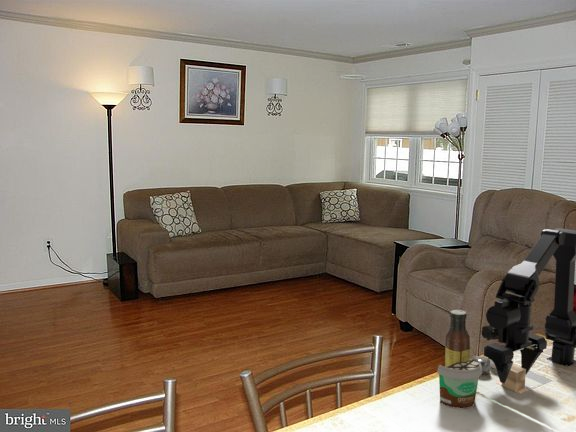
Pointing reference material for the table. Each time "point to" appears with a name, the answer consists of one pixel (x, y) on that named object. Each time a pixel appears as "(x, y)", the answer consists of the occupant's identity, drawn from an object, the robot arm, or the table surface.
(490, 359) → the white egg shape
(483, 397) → the table surface
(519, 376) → the oak block
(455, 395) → the food container
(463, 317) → the sauce bottle
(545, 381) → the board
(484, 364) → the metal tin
